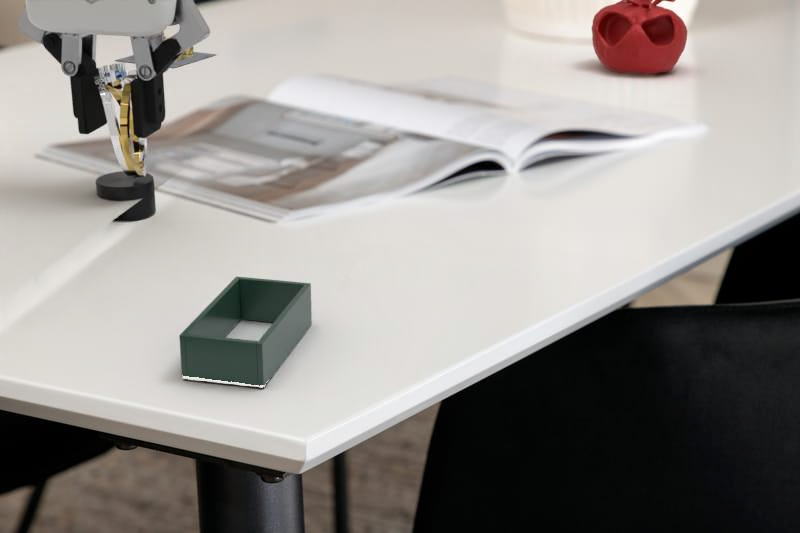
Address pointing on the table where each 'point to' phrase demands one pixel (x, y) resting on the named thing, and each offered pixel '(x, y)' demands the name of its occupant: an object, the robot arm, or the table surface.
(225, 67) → the table surface
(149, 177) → the black round cut piece
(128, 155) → the ring
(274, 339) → the dark green hollow box
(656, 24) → the red rounded hollow piece
